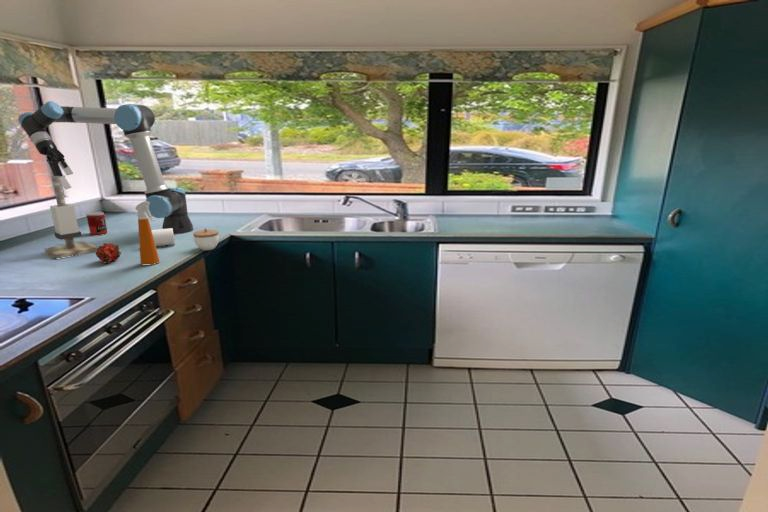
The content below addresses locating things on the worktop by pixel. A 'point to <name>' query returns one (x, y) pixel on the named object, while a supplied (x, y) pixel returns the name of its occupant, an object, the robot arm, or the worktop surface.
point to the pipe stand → (70, 246)
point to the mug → (163, 237)
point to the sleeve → (64, 219)
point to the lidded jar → (206, 239)
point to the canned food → (97, 223)
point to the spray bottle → (146, 235)
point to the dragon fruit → (108, 252)
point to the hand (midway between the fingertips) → (69, 181)
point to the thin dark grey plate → (68, 235)
